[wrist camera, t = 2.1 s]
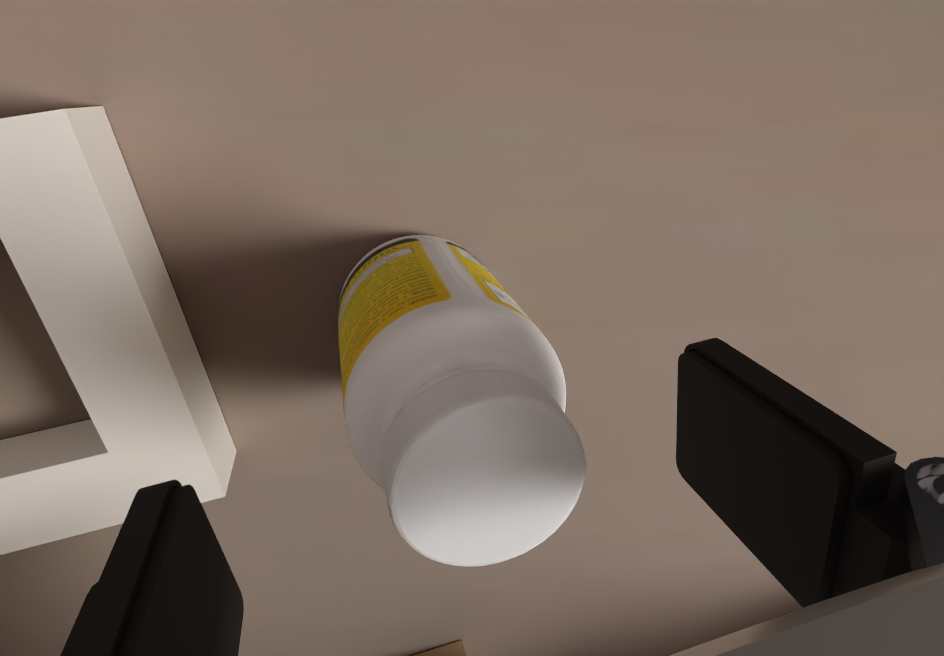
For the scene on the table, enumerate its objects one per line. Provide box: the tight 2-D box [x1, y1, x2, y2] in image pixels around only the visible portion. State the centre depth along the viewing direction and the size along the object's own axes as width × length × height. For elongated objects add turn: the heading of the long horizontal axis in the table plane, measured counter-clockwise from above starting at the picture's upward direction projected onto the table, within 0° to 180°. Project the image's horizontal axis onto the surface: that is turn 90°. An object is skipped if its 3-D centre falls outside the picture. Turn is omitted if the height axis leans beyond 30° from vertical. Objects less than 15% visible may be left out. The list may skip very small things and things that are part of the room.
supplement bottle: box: [338, 235, 586, 566], centre depth 15 cm, size 5×5×10 cm
